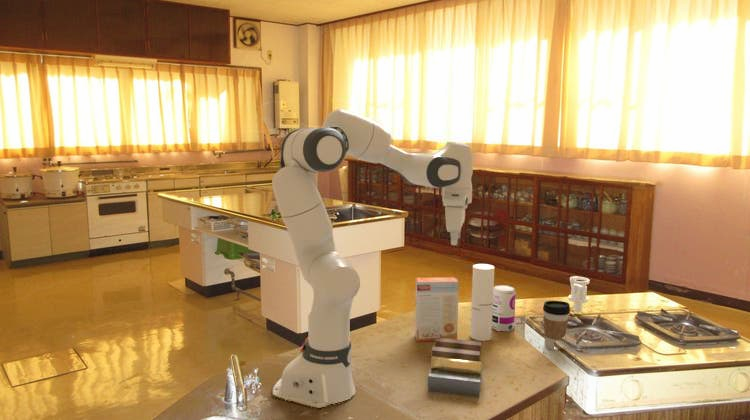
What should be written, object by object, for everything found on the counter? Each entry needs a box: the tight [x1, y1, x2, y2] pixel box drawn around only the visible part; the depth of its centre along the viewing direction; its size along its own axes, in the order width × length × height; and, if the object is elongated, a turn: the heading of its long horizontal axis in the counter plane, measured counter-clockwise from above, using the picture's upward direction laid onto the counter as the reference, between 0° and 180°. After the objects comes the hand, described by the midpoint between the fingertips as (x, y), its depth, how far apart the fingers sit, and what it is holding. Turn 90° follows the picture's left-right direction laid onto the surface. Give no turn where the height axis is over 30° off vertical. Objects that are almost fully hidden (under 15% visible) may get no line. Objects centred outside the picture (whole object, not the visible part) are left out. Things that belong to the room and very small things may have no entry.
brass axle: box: [430, 355, 483, 376], centre depth 152 cm, size 14×4×4 cm, turn 76°
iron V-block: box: [427, 368, 483, 398], centre depth 153 cm, size 14×11×4 cm
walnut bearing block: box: [431, 337, 482, 362], centre depth 166 cm, size 14×10×6 cm
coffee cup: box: [542, 300, 571, 351], centre depth 179 cm, size 8×8×15 cm
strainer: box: [568, 275, 590, 312], centre depth 210 cm, size 7×7×15 cm
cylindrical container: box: [469, 263, 495, 342], centre depth 186 cm, size 7×7×25 cm
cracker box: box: [414, 276, 459, 342], centre depth 185 cm, size 14×6×21 cm, turn 92°
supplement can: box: [492, 284, 517, 332], centre depth 194 cm, size 8×8×15 cm
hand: (455, 241), depth 166 cm, fingers open, 8 cm apart
